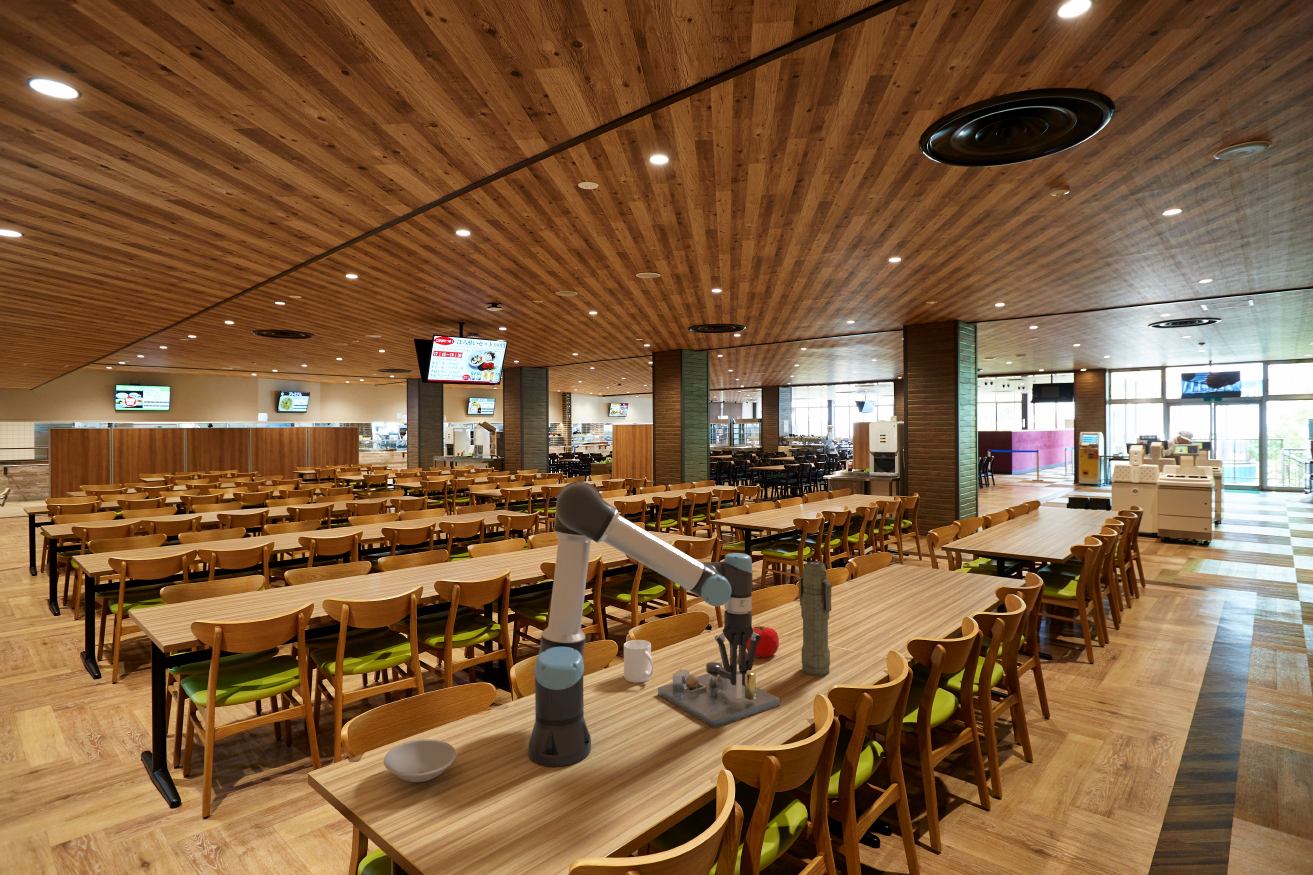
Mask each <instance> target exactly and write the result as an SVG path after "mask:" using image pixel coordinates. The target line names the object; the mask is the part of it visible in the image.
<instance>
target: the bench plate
mask: <svg viewBox="0 0 1313 875" xmlns="http://www.w3.org/2000/svg"><path fill="white" fill-rule="evenodd" d="M689 675H690V670H686V669H682V668H680V669H678V670H677V671H675V672H674V673H673V674H672V683H669V684H667V685H663V686H659V687H657V695H658V696H660V697H661V698H662V699H664V700H666V701H668V702H669V703H671V704H673V705H675V706H676V707H678V708H679V709H681V710H683V711H685V712H686V713H687V714H690V715H691V716H693V717H695V718H696V719H698V720H700V721H701V722H703V723H704V724H705V725H707V726H709V727H711V728H713V729H717V728H718V727H721V726H724V725H725V726H726V725H727V724H730V723H733V722H736V721H739V720H741V719H742V720H743V719H744V718H747V717H750V716H753V715H756V714H758V713H762V712H764V711H767V710H770V709H773V708H776V707H778V706H780V705H781V704H780V702H781V700H780V697H778V696H776V695H774V694H772V693H769V692H767V691H766V690H764V689H761V688H759V687H758V686H756V699H753V700H749V699H746V698H745V686H743V685H742V698H736V697H735V696H734V694H733V685H732V684H731V682H730V680H729V679H727V689H726V690H724V691H723V690H721V689H719V688H718V676H721V675H718V674H710V673H706V674H701V675H698V676H697V677H698V679H699V685H698V687H697V688H695V689H690V688H688V687H687V685H686V678H687V677H688V676H689Z"/></svg>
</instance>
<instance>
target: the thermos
mask: <svg viewBox="0 0 1313 875" xmlns="http://www.w3.org/2000/svg"><path fill="white" fill-rule="evenodd" d="M825 565H826V564H824V563H823V562H820V561H808V562H806V563H805V564H804V567H803V569H802V574H801V575H800V577H799V578H798V580H799V582H798V583H799V584H798V585H799V587H798V588H799V590H798V591H799V592H798V594H799V606H800V609H801V610H800V612H801V614H800V616H801V618H802V643H803V644H802V647H801V665H802V666H801V671H802V672H803V673H804V674H806V675H808V676H813V677H825V676H828V675H829V674H830V665H831V651H830V648H829V622H828V621H829V620H830V612H831V611H832V583H831V581H830V580H829V579H828V572H827V569H826V566H825Z"/></svg>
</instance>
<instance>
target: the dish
mask: <svg viewBox="0 0 1313 875" xmlns="http://www.w3.org/2000/svg"><path fill="white" fill-rule="evenodd" d="M456 751H457V750H456V749H455V747H453V746H452V745H451V744H450V743H448V742H445V741H443V740H438V739H431V738H430V739H429V738H427V739H416V740H410V741H406V742H403V743H401V744H398V745H396V746H394V747H393V748H392V749H389V751H387V753H386V754H385V756H384V758H383V765H384V767H385V768H386V770H387V771H389V772H391V773H393V774H394V775H395V776H396V777H397V778H398V779H400V780H403V781H406V782H411V783H423V782H426V781H427V782H428V781H430V780H433V779H434V778H437V777H438V776H440V775H441V774H442V773H444V772H445V771H446V770H447V768H449V767H450V766H451V765H453V763H454V762H455V760H456V757H457V752H456Z"/></svg>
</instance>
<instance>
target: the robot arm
mask: <svg viewBox="0 0 1313 875" xmlns="http://www.w3.org/2000/svg"><path fill="white" fill-rule="evenodd" d="M553 526H554V527H553V532H554V534H555V535H556V536H557V537H558V542H557V551H556V558H555V565H554V566H555V567H554V575H553V583H552V592H551V602H550V609H549V610H550V611H549V618H548V619H549V620H548V626H547V627H546V628H545V629H544V630H543V631H542V632H541V635H540V636H541V637H540V644H539V645H540V646H539V652H538V655H537V657H536V659H535V661H534V662H535V664H534V669H533V674H534V678H535V679H534V689H535V690H534V691H535V692H534V693H535V694H534V696H535V698H534V699H535V702H534V703H535V706H534V707H535V710H534V712H535V713H534V714H535V721H534V725H533V728H532V732H531V734H530V737H529V741H528V746H527V747H528V752H527V753H528V758H529V759H530V760H531V761H532V762H533V763H535V764H538V765H541V766H545V767H565V766H570V765H574V764H576V763H578V762H581V761H582V760H584V759H586V758H587V757H588V756H589V755H590V753H591V751H592V738H591V734H590V731H589V729H588V725H587V723H586V720H585V716H584V715H585V714H584V712H585V711H584V705H585V704H584V703H585V702H584V671H585V665H584V654H585V653H584V652H585V645H586V634H585V633H584V631H583V630H582V619H583V611H584V610H583V609H584V603H585V595H586V587H587V586H586V585H587V577H588V568H589V560H590V551H591V541H594V542H595V543H601V542H603V543H606V544H607V545H609V546H611V547H612V548H614V549H615V550H618V551H619V552H620V553H621V552H622V553H623V554H624V555H627V556H628V557H629V558H632V559H633V560H635V561H637V562H638V563H641V564H642V565H644V566H645V567H647V568H649V569H651V570H653V571H654V572H656V573H658V574H659V575H661V576H663V577H665V578H666V579H668V580H670V581H672V582H673V583H676V584H678V586H680V587H682V589H683V590H684V591H690V593H692V594H694V595H696V596H698V597H699V598H701V599H702V600H703V602H705V603H706V604H707V605H710V606H712V607H721V606H724V607H723V608H724V614H723V615H724V616H723V618H724V619H723V620H724V622H723V623H724V627H723V629H722V633H721V634H719V635H715V636H714V639H715V641H716V643H717V644H718V648H719V649H718V650H719V653H720V657H721V662H722V667H723V668H724V669H725V670H726V671H727V672H730V682H731V684H732V685H733V694H734V696H735V697H736V698H742V685H743V684H745V674H746V673H747V671H753V670H752V669H753V666H754V662H755V653H756V649H757V645H758V643H759V641H760V639H761V636H760V635H758V634H757V633H754V632H753V629H752V628H753V627H752V624H753V623H752V622H753V620H752V619H753V612H752V609H753V606H752V605H753V598H752V597H753V595H752V592H753V589H752V588H753V560H752V557H751V556H750V555H748V554H747V553H740V552H732V553H726V554H725V555H724V559H723V561H713V562H712V561H710V562H709V561H707V562H706V561H705V562H704V561H703V562H701V561H700V560H699V561H698V560H697V559H695V558H693V557H691V556H690V555H689V554H686V553H685V552H683V551H681V550H679V549H678V548H676V547H675V546H673V545H671V544H670V543H668V542H667V541H664V540H663V539H661V538H659V537H658V536H656V535H654V533H653V534H652V533H650V532H649V531H647V530H646V529H644V528H642V527H640V526H639V525H638V524H636V523H634V522H632V521H630V520H628V519H626V518H625V517H623V516H622V515H620V514H619V511H618V508H616V507H614V506H612V505H611V504H609V503H608V502H607V501H606V500H604V498H602V497H601V495H600V493H599V490H597V489H596V488H595V487H594V485H592V484H590V483H588V482H584V481H572V482H570V483H568V484H566V485H565V486H563V488H561V489H560V491H559V493H558V494H557V498H556V504H555V517H554V525H553ZM750 637H751V641H750V645H749V649H748V651H747V649H746V647H747V642H748V640H749V638H750ZM726 640H727V642H728V643H729V657H728V653H727V649H726V648H727V647H726V645H725V642H726Z"/></svg>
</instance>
